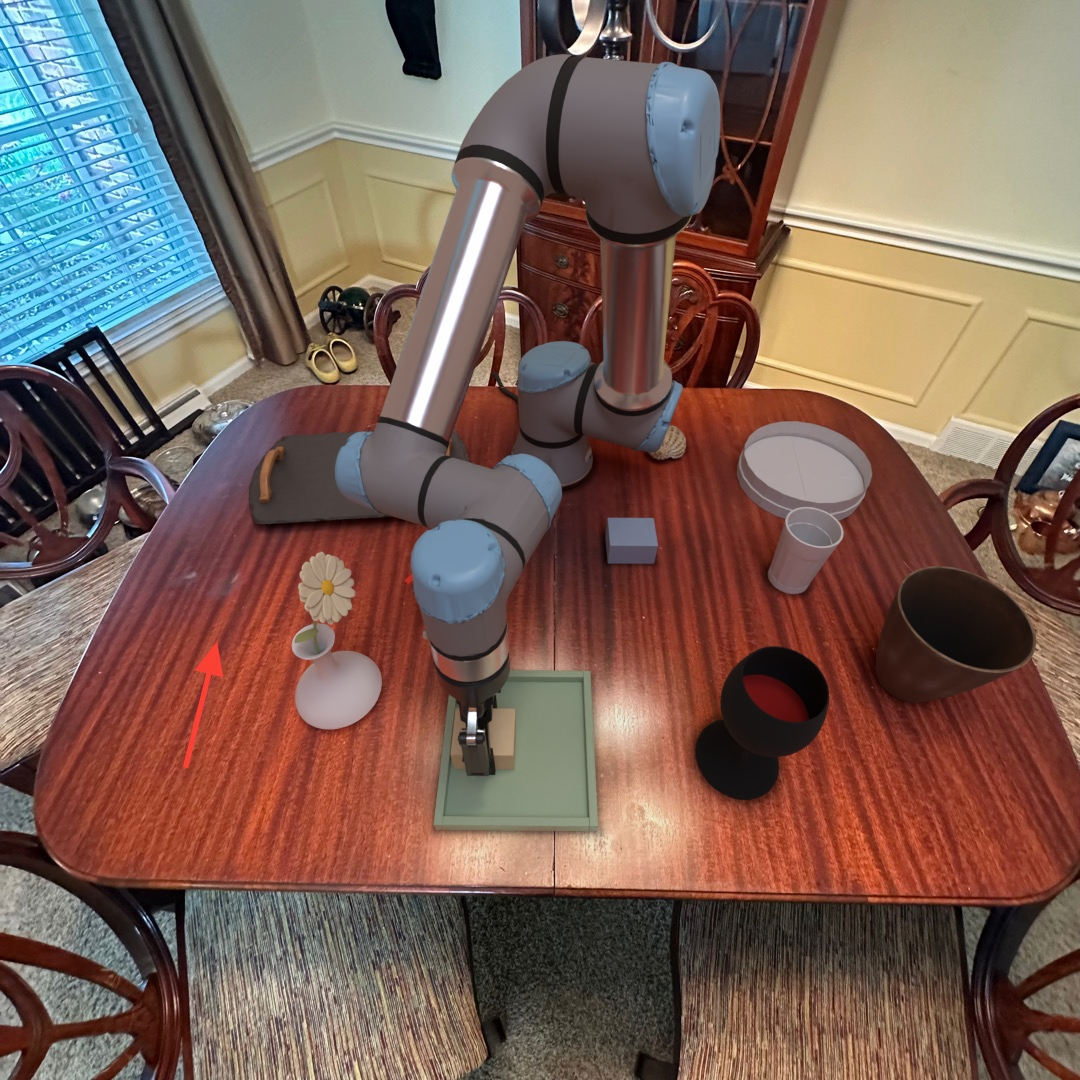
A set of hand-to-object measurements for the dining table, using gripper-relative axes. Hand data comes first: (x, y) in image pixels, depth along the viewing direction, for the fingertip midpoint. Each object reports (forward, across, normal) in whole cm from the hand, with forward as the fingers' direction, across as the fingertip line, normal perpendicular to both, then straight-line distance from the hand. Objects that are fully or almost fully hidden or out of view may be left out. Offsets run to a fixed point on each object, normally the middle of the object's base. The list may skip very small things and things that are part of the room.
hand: (486, 745), depth 77 cm
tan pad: (0, 0, 0) cm, 0 cm away
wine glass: (+1, +1, +32) cm, 32 cm away
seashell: (+1, -59, +30) cm, 66 cm away
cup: (+1, -28, +46) cm, 54 cm away
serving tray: (+1, -49, -26) cm, 55 cm away
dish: (+1, -50, +54) cm, 74 cm away
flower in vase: (+1, -8, -20) cm, 21 cm away
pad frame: (+1, 0, +4) cm, 4 cm away
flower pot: (+1, -10, +57) cm, 58 cm away
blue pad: (+1, -34, +21) cm, 40 cm away
